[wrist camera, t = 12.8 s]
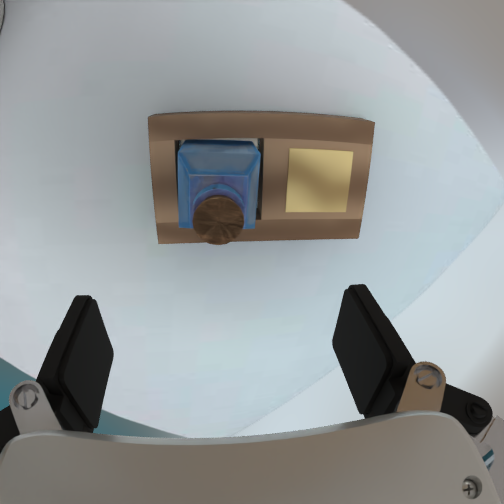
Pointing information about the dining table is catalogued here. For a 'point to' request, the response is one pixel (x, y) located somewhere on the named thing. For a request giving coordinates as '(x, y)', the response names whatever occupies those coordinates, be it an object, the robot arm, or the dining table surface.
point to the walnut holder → (273, 171)
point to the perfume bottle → (218, 188)
